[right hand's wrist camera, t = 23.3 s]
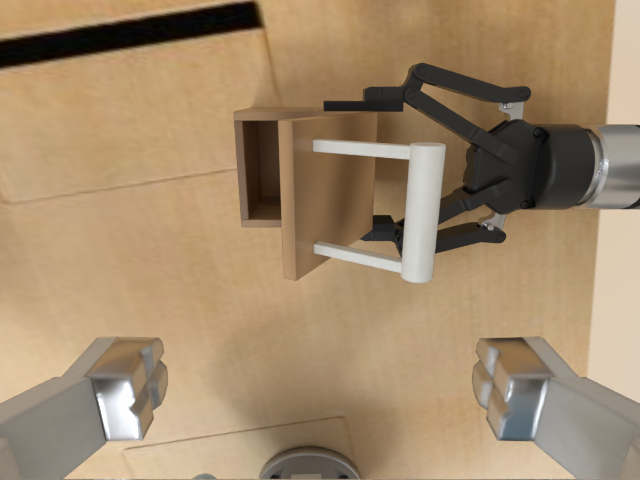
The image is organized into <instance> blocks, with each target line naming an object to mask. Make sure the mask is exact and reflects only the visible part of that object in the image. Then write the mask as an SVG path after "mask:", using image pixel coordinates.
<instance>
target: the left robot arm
mask: <svg viewBox="0 0 640 480" xmlns="http://www.w3.org/2000/svg"><path fill="white" fill-rule="evenodd" d="M423 83H426V84H429V85H432V86H435V87H439V88H442V89H445V90H448V91H452V92H455V93H458V94H461V95H465V96H468V97H471V98H474V99H477V100H481V101H485V102H493V103H495V109H496V110H497V111H498V112H502V113H504V114H505V115H506V120H504V121H503V122H501V123H500V124H499V125H497V126H496V127H494V128H493V129H491V130H490V131H488V132H486V131H485V130H483V129H481V128H479V127H477V126H475V125H474V124H472V123H471V122H469V121H467V120H466V119H464V118H463V117H461V116H460V115H458V114H456V113H455V112H453V111H452V110H450V109H448V108H447V107H445V106H444V105H442V104H441V103H439V102H437V101H436V100H434V99H433V98H431V97H429V96H428V95H426V94H425V93H423V92H422V91H420V90H421V87H422V85H423ZM530 95H531V90H530V88H528V87H525V86H518V87H499V86H496V85H492V84H489V83H486V82H483V81H480V80H476V79H473V78H470V77H467V76H464V75H461V74H457V73H454V72H451V71H448V70H445V69H442V68H438V67H435V66H432V65H429V64H426V63H419V64H416V65H413V66H411V67H410V69H409V71H408V76H407V78H406V80H405V82H404V84H403V85H401V86H399V87H368V88H366V89H363V101H324V111H380V112H403V102H405V103H406V104H408V105H410V106H411V107H413V108H415V109H416V110H418V111H419V112H421V113H423V114H424V115H426V116H427V117H429V118H431V119H432V120H434V121H435V122H437V123H439V124H440V125H442V126H444V127H445V128H447V129H448V130H450V131H452V132H453V133H455V134H456V135H458V136H459V137H461V138H462V139H464V140H465V141H467V142H468V143H470V144H471V146H470V148H469V149H467V153H466V161H467V167H466V170H465V172H464V177H463V183H465V185H463V186H461V187H459V188H457V189H456V190H454V191H453V193H452V194H450V195H448V196H446V197H444V198H442V199H440V209H439V218H438V225H439V224H441V223H443V222H445V221H447V220H449V219H451V218H453V217H455V216H456V215H458V214H460V213H462V212H464V211H470V210H473V209H475V208H477V207H479V206H481V205H483V204H485V205H486V206H487V207H489V208H490V209H491V210H492V212H491V214H490V215H488V216H486V217H482V218H480V219H479V220H478V222H470V223H465V224H461V225H457V226H453V227H449V228H445V229H441V230H438V231H437V237H436V247H435V253H439V252H443V251H447V250H451V249H455V248H459V247H463V246H467V245H471V244H475V243H479V242H488V243H502V242H503V241H504V240H505V239H506V234H505V233H504V232H503V231H502V229H503V225H504V221H505V217H506V214H509V213H511V212H513V211H516V210H520V209H529V210H537V209H569V208H571V209H576V210H592V209H640V125H600V124H588V125H581V126H578V125H575V124H529V123H527V122H526V121H524V120H522V118H523V107H524V102H525V101H527V100H528V99H529V98H530ZM404 223H405V218H403V219H401V220H399V221H398V222H396V223H394V221H393V219H392V217H391V216H390V215H373V224H372V231H370V232H369V233H367V234H366V235H364V236H363V237H361V238H360V239H361V240H364V241H392V242H394V243H395V244H396V248H397V250H398V252H399V254H400V256H401V258H402V250H403V236H404ZM192 479H217V478H215V477H214V476H212V475H210V474H200V475H198V476H196V477H194V478H192ZM259 479H361V476H360V474H359V472H358V470H357V468H356V467H355V466H354V464H353V463H352V462H351V461H349V460H348V459H347V458H345V457H344V456H342V455H341V454H339V453H336V452H334V451H331V450H328V449H324V448H317V447H302V448H296V449H292V450H288V451H285V452H283V453H281V454H279V455H277V456H275V457H274V458H273V459H271V460H270V461H269V462H268V463H267V464H266V465H265V466H264V468H263V469H262V471H261V473H260V476H259Z"/></svg>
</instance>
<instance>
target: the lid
mask: <svg viewBox="0 0 640 480" xmlns="http://www.w3.org/2000/svg"><path fill="white" fill-rule="evenodd" d="M377 118H378V112H359V113H349V114H339V115H328V116H318V117H308V118H297V119H287V120H279V121H278V132H279V160H280V189H281V218H282V246H283V275H284V278H286V279H290V280H294V281H297V280H298V279H300V278H301V277H303V276H304V275H306V274H307V273H309V272H310V271H312V270H313V269H315V268H316V267H318V266H319V265H321V264H322V263H324V262H325V261H327V260H328V259H330V258H331V257H333V258H337V259H342V260H346V261H350V262H355V263H359V264H363V265H368V266H372V267H376V268H381V269H385V270H390V271H394V272H398V273H401V277H402V278H403V279H404V280H406V281H408V282H412V283H426V282H429V281H431V279H432V275H433V265H434V256H435V247H436V237H437V228H438V218H439V209H440V199H441V190H442V180H443V171H444V162H445V152H446V145H445V144H443V143H436V142H415V143H411V145H404V144H389V143H376V139H377ZM376 157H384V158H396V159H408V160H409V170H408V184H407V197H406V210H405V223H404V236H403V250H402V259H401V258H397V257H392V256H387V255H382V254H378V253H373V252H368V251H363V250H359V249H354V248H349V247H348V246H349V245H351V244H352V243H354V242H355V241H357V240H358V239H360V238H361V237H363V236H364V235H366V234H367V233H369V232H370V231H372V224H373V203H374V181H375V160H376Z"/></svg>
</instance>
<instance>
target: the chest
mask: <svg viewBox="0 0 640 480" xmlns="http://www.w3.org/2000/svg"><path fill="white" fill-rule="evenodd" d="M359 112H370V111H324V107H250V108H247V109H243V110H239V111H235V112H234V120H235V121H234V127H235V141H236V155H237V169H238V183H239V197H240V211H241V226H242V227H282V218H281V189H280V160H279V132H278V121H279V120H287V119H297V118H308V117H318V116H328V115H339V114H349V113H359Z"/></svg>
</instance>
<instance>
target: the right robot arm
mask: <svg viewBox="0 0 640 480" xmlns="http://www.w3.org/2000/svg"><path fill="white" fill-rule="evenodd" d="M163 353H164V348H163V343H162V340H161V339H159V338H149V337H100V338H96V339H95V341H94V342H93V343H92V344H91V345H90V346H89V347H88V348H87V349H86V350H85V351H84V353H83V354H82V355H81V356H80V357H79V358H78V359H77V360H76V361H75V362H74V363H73V365H72V366H71V367H70V368H69V369H68V370H67V371H66V372H65V373H64V374H63V375H62V377H54V378H52V379H50V380H48V381H46V382H44V383H41V384H39V385H37V386H35V387H33V388H31V389H29V390H27V391H25V392H23V393H21V394H19V395H17V396H15V397H13V398H11V399H9V400H7V401H5V402H3V403H1V404H0V480H640V404H639V403H637V402H635V401H633V400H631V399H629V398H627V397H625V396H623V395H621V394H619V393H617V392H615V391H613V390H611V389H609V388H607V387H605V386H603V385H601V384H598V383H596V382H594V381H592V380H590V379H588V378H586V377H578V375H577V374H576V373H575V372H574V371H573V370H572V369H571V368H570V367H569V366H568V365H567V363H566V362H565V361H564V360H563V359H562V358H561V357H560V356H559V355H558V354H557V353H556V351H555V350H554V349H553V348H552V347H551V346H550V345H549V344H548V343H547V342H546V340H545V339H543V338H541V337H519V338H480V339H479V341H478V343H477V347H476V353H477V355H478V357H479V359H480V360H479V361H478V363H477V364H476V365H475V366H474V367H473V374H472V383H473V390H474V394H475V397H476V399H477V401H478V403H479V405H480V406H482V407H483V408H485V409H486V410H487V417H486V419H487V421H488V423H489V425H490V427H491V429H492V431H493V433H494V435H495V437H496V438H497V440H502V441H534V444H536V445H537V446H538V447H539V448H541V449H542V450H543V451H544V452H545V453H547V454H548V455H549V456H550V457H551V458H553V459H554V460H555V461H556V462H557V463H559V464H560V465H561V466H562V467H563V468H565V469H566V470H567V471H568V472H569V473H571V474H572V475H573V476H574V477H575V478H577V479H63V478H65V477H66V476H67V475H68V474H69V473H71V472H72V471H73V470H74V469H76V468H77V467H78V466H79V465H80V464H82V463H83V462H84V461H85V460H86V459H88V458H89V457H90V456H91V455H92V454H94V453H95V452H96V451H97V450H98V449H100V448H101V447H102V446H103V445H104V444H106V441H137V440H143V439H144V437H145V435H146V433H147V431H148V429H149V427H150V425H151V423H152V421H153V419H154V417H153V410H154V409H155V408H157V407H158V406H160V405H161V403H162V401H163V399H164V397H165V394H166V389H167V385H168V373H167V367H166V366H165V365H164V364H163V363H162V361H161V360H160V359H161V357H162V355H163Z"/></svg>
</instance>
